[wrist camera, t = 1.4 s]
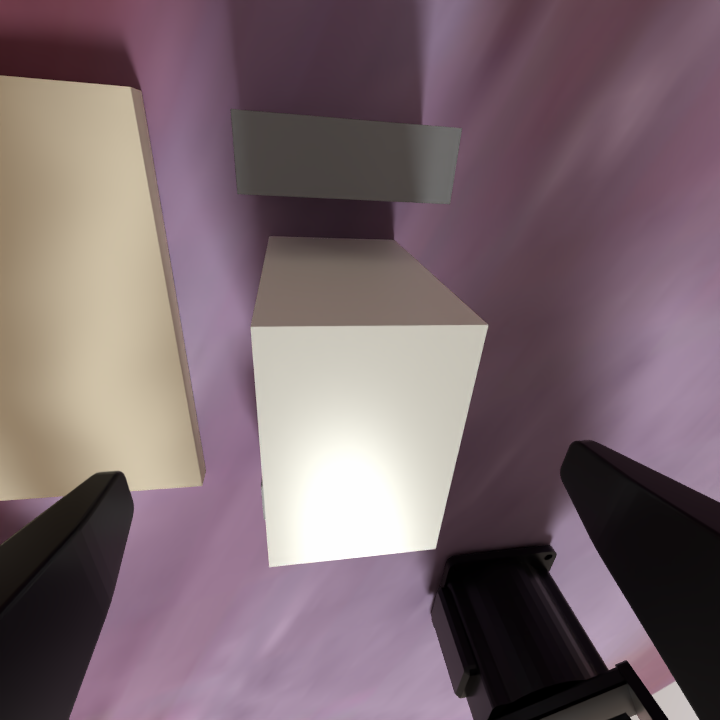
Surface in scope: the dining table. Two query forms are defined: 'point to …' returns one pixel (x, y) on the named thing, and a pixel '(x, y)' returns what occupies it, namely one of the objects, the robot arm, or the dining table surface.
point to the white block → (357, 397)
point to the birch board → (87, 298)
